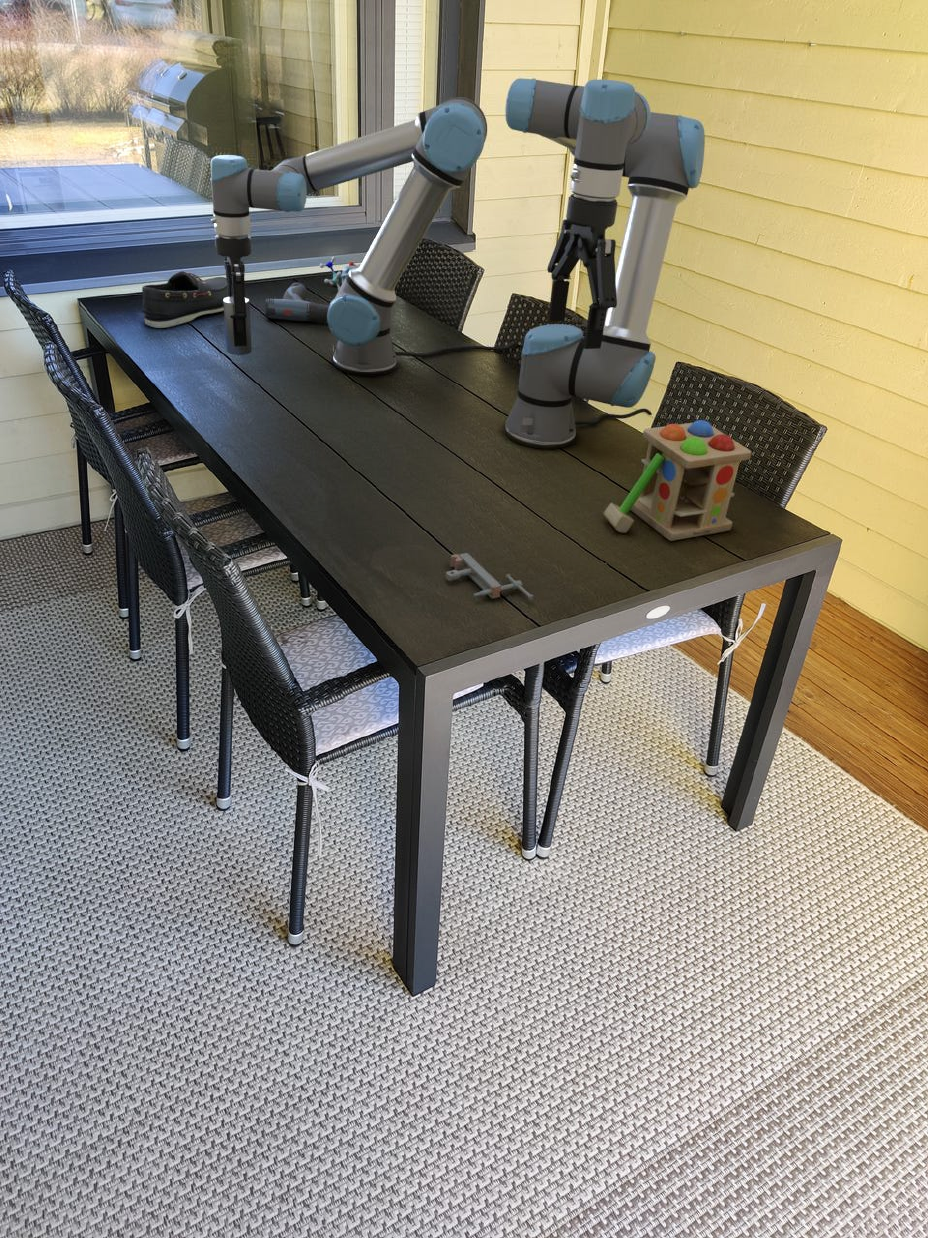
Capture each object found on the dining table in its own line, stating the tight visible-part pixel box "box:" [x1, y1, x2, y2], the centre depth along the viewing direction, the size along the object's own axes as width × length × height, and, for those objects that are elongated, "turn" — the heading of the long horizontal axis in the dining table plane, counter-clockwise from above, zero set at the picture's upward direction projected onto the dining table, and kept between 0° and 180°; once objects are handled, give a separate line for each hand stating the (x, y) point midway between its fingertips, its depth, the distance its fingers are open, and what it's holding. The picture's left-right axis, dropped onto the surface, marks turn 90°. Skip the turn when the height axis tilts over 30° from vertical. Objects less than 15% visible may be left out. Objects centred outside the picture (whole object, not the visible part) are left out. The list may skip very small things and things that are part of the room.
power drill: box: [264, 282, 330, 322], centre depth 265 cm, size 5×19×20 cm
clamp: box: [445, 552, 535, 601], centre depth 158 cm, size 15×2×10 cm
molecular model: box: [319, 256, 362, 292], centre depth 287 cm, size 12×10×10 cm
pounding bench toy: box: [603, 419, 753, 542], centre depth 178 cm, size 23×14×18 cm, turn 116°
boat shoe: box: [141, 270, 228, 329], centre depth 257 cm, size 13×33×10 cm, turn 147°
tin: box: [223, 297, 253, 356], centre depth 222 cm, size 6×6×12 cm
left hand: (238, 340), depth 224 cm, fingers closed on tin, 6 cm apart
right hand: (573, 333), depth 161 cm, fingers open, 13 cm apart
